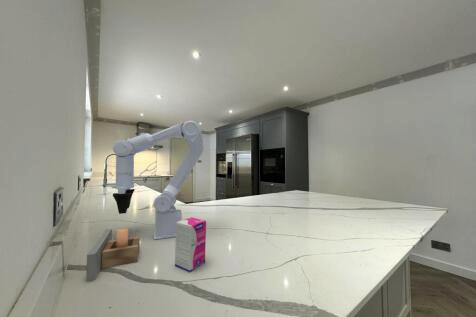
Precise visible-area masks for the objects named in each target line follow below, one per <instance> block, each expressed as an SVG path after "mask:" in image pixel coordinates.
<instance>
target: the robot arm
mask: <svg viewBox="0 0 476 317" xmlns="http://www.w3.org/2000/svg"><path fill="white" fill-rule="evenodd" d="M175 137H178V138H182V139H184V138H186V139H187V142H188V146H189V150H188V152H187V153H186V155H185V156H184V158H183V160H182V161H181V163H180V165H179V166H178V168H177V169H176V171H175V173H174V174H173V176H172V177H171V180H170V181H169V183H168V185H167V186H166V187H165V188H164V189H163V191H162V192H161V194H159V195H157V197H156V198H154V200H153V207H154V209H155V212H154V215H155V218H154V222H155V223H154V227H155V228H154V231H153V240H162V239H167V238H168V239H169V238H174V237H175V238H176V222H178V221H181V220H183V217H182V216H183V215H182V214H183V213H182V209H177V208H176V207H175V204H176V202H177V199H178V198H177V196H178V195H179V193H180V191H181V189H182V187H183V185H184V183H185V182H186V180H187V179H188V178H189V175H190V174H191V172H192V170H193V169H194V167H195V166H196V164H197V162H198V161H199V159H200V158H201V155H202V154H203V152H204V137H203V133H202V130H201V127H200V126H199V124H198V122H196V121H195V120H187V121H185V122H184V121H183V122H179V123H177V124H174V125H172V126H169V127H168V128H165V129H163V130H160V131H157V132H155V133H152V134H150V133H148V132H146V133H145V132H140V133H139V135H137V136H134V137H132V138H131V137H128V138H126V139H127V140H125V139H119V140H118V141H116V142H115V143H114V144H113V147H112V152H113V153H114V154H115V185H112V186H111V189H115V190H117V192H114V193H112V197H113V199H114V201H115V202H116V207H117V211H118V214H119V215H123V214H127V211H128V209H130V206H131V200H132V197H133V195H134V192H135V191H136V190H135V184H134V181H135V180H134V179H135V178H134V176H135V174H134V172H135V155H136V154H138V153H141V152H145V151H147V150H150V149H152V148H154V147H155V145H156V144H157V143H160V142H162V141H166V140H168V139H171V138H175Z"/></svg>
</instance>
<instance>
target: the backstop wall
mask: <svg viewBox="0 0 476 317" xmlns="http://www.w3.org/2000/svg"><path fill="white" fill-rule="evenodd" d="M110 240H113V228H107V229H105V230H104V231H103V233H102V234H100V237H99V238H98V239H97V240H96V242H95V243H94V245H93V246H92V247H91V249H90V251H88V252H87V254H86V279H85V280H86V281H85V282H91V281H92V282H93V281H96V279H97V277H98V275H99V273H100V271H101V269H102V252H103V250H104V248H105V247H106V245H107V243H108V241H110Z"/></svg>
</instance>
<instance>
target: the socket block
mask: <svg viewBox="0 0 476 317" xmlns="http://www.w3.org/2000/svg"><path fill="white" fill-rule="evenodd" d="M140 237H141V236H134V237H128V246H127V247H120V248H116V243H117V239H112V240H110V241H108V243H107V245H106V247H105V248H104V250H103V252H102V267H101V269H106V268H111V267H116V266H121V265H128V264H132V263H137V262H138V261H139V255H140V248H141V247H140V245H141V244H140V242H141V241H140V240H141V239H140Z"/></svg>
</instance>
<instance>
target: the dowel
mask: <svg viewBox="0 0 476 317" xmlns="http://www.w3.org/2000/svg"><path fill="white" fill-rule="evenodd" d="M128 238H129V228H127V227H123V228H118V229H117V230H116V240H117V243H116V248H120V247H127V246H128Z"/></svg>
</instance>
